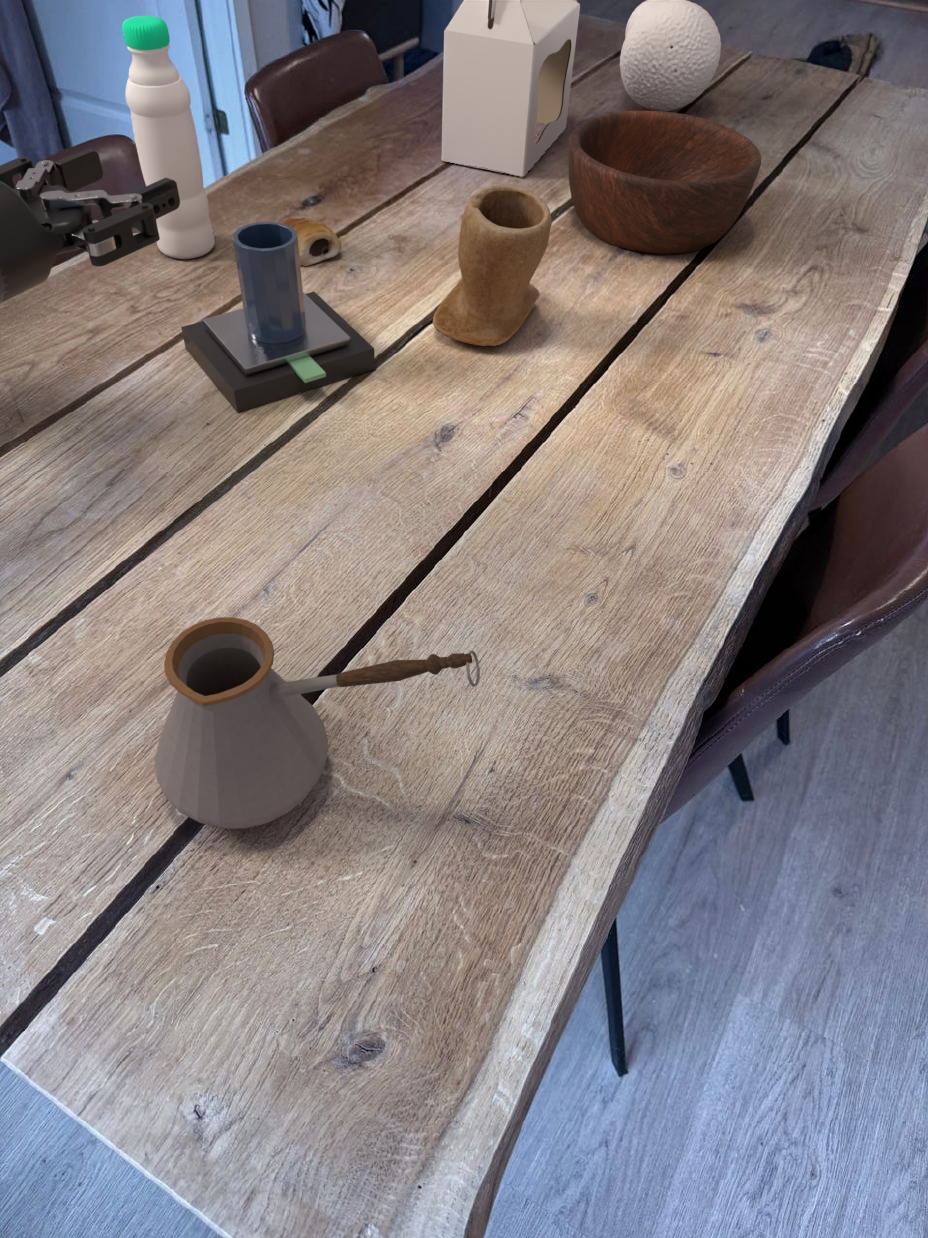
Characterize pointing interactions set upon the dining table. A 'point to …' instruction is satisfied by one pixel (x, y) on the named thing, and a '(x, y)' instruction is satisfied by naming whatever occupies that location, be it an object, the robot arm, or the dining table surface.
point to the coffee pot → (251, 723)
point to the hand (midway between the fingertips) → (135, 176)
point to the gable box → (506, 81)
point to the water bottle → (166, 136)
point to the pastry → (314, 240)
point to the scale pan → (264, 355)
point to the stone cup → (495, 265)
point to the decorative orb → (669, 53)
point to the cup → (270, 281)
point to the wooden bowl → (659, 179)
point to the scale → (283, 377)
